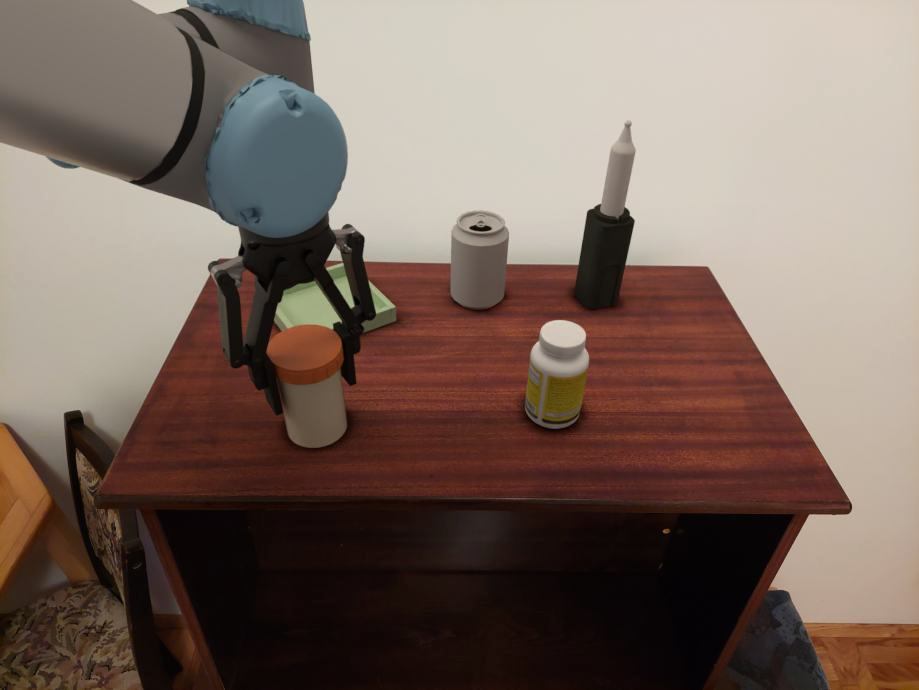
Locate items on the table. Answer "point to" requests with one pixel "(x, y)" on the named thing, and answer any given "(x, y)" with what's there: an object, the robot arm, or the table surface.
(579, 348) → the pill bottle
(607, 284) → the candle
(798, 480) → the table surface
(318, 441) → the jar
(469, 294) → the can
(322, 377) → the lid
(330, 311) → the tray
